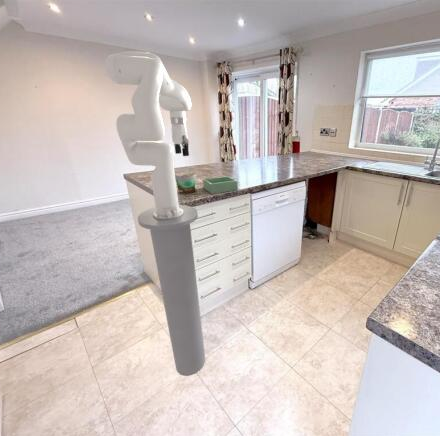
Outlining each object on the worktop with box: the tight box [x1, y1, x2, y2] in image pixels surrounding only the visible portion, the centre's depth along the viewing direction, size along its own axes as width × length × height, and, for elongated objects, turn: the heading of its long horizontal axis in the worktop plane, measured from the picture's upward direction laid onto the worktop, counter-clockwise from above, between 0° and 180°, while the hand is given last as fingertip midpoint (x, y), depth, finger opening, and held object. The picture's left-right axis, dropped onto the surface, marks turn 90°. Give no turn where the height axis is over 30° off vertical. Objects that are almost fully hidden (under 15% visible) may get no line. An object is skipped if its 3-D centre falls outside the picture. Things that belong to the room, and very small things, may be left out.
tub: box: [202, 175, 239, 195], centre depth 148 cm, size 13×17×6 cm
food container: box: [175, 172, 197, 194], centre depth 139 cm, size 12×6×10 cm, turn 137°
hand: (182, 154), depth 135 cm, fingers open, 9 cm apart
